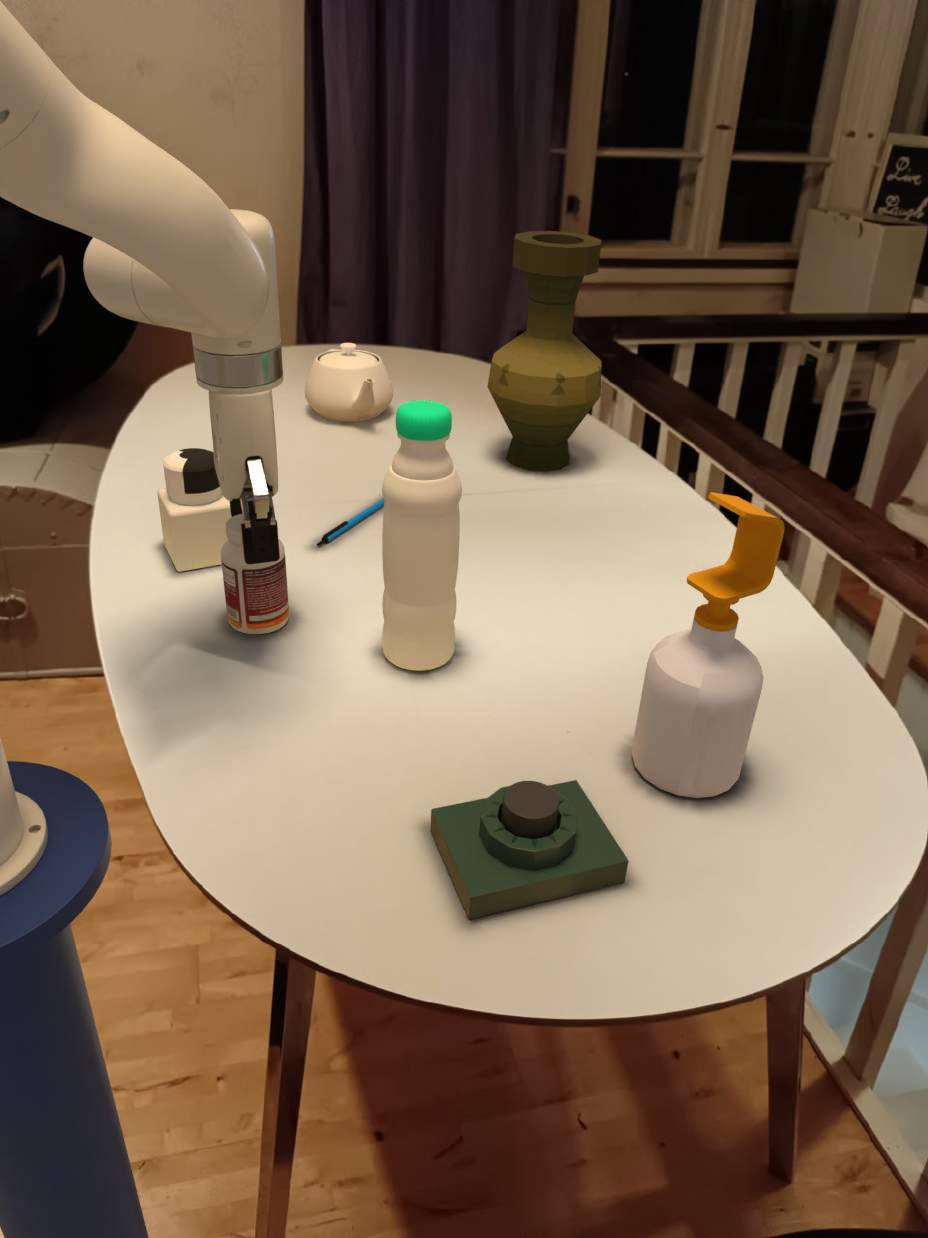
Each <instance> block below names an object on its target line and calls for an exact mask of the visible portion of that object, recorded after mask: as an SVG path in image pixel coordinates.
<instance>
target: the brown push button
mask: <svg viewBox="0 0 928 1238" xmlns="http://www.w3.org/2000/svg"><path fill="white" fill-rule="evenodd" d="M508 786H509V787H508V788H507V790H506V791H505V793H504V796H503V806H502V823H503V825H504V827H505V828H506V829H507V830H508V831H509V832H510V833H512V834H513V835H515V836H517V837H523V838H529V839H538V838H542V837H546V836H548V835H549V834H551V833H552V832H553V830H554V829H555V827H556V824H557V816H558V809H559V798H558V796H557V794H556V792H555V791H554V790H553V789H552V788H550V787H549V785H548V784H545V783H543V782H540V781H536V780H521V781H517V782H515V783H514V782H513V784H511V785H508Z"/></svg>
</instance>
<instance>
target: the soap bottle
mask: <svg viewBox="0 0 928 1238" xmlns="http://www.w3.org/2000/svg"><path fill="white" fill-rule="evenodd" d="M707 498H708V499H709V500H711V501H713V502H714V503H716V504H717V505H720V506H721V507H723V508H725V509H727V510H729V511H730V512H732V513H735V514H736V515H738V520H737V526H736V530H735V535H734V538H733V544H732V549H731V552H730V555H729V557H728V559H727V560H726V561H725V562H724V563H723V564H720V565H718V566H714V567H710V568H707V569H703V570H699V571H696V572H692V573H689V574H688V575H687V577H686V584H687V585H689V586H690V587H691V588H693V589H695V590H696V591H698V592H699V593H701V595H702V596H703V598H704V599H705V600H707V603H703V604H701V605H699V606H697V607H696V609H695V610H694V614H693V620H692V624H691V628H690V629H689V628H688V629H684V630H682V631H677V632H675V633H671V634H670V635H667V636H665V637H663V638H662V639H661V640H660V641H659V642H657V643H655V645H654V647H653V648H652V650H651V651H650V653H649V656H648V659H647V662H646V666H645V667H646V668H645V672H644V677H643V684H642V689H641V695H640V701H639V707H638V712H637V717H636V718H637V719H636V724H635V730H634V734H633V740H632V745H631V752H630V753H631V756H632V760H633V765H634V767H635V768H636V769H637V771H638V772H639V774H640V775H641V776H642V777H643V779H644V780H646V781H648V782H649V783H651V784H652V785H653V786H655V787H656V788H658V789H660V790H662V791H664V792H667V793H671V794H673V795H676V796H681V797H687V798H693V799H701V798H710V797H711V798H712V797H716V796H719V795H721V794H723V793H725V792H728V791H729V790H730V789H731V788H732V787H733V786H734V785H735V784H736V782H737V781H738V780H739V779H740V775H741V771H742V768H743V763H744V759H745V757H746V756H745V755H746V751H747V748H748V745H749V740H750V737H751V732H752V729H753V725H754V721H755V717H756V714H757V710H758V705H759V701H760V697H761V694H762V690H763V684H764V673H763V669H762V665H761V663H760V660H759V659H758V657H757V656H756V655H755V654H754V653H753V652H752V651H751V650H750V649H749V648H748V647H747V646H746V645H745V644H744V643H743V642H741V641H740V640H739V639H737V638H735V637H736V633H737V628H738V624H739V618H740V617H739V614H738V613H737V612H736V611H735V610H734V609H733V608H731V606H733V605H736V604H737V603H739V602H740V600H741V599H745V598H748V597H750V596H751V597H752V596H753V595H757V594H760V593H762V592H763V591H765V590H766V589H767V588H768V587H769V586H770V585H771V582H772V580H773V578H774V574H775V571H776V566H777V563H778V559H779V558H778V557H779V554H780V550H781V546H782V542H783V538H784V534H785V523H784V521H783V520H782V519H780V518H779V517H777V516H775V515H773V514H771V513H770V512H768V511H766V510H764V509H762V508H760V507H758V506H756V505H754V504H753V503H751V502H749V501H748V500H745V499H743V498H741V497H739V496H736V495H731V494H726V493H725V494H724V493H719V492H714V491H713V492H712V491H711V492H709V494H708V496H707Z"/></svg>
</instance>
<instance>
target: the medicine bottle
mask: <svg viewBox="0 0 928 1238" xmlns="http://www.w3.org/2000/svg"><path fill="white" fill-rule="evenodd" d="M162 466H163V473H164V482H165V488H159V489H158V490H157V492H156V494H157V501H158V507H159V515H160V523H161V530H162V539H163V540H162V541H163V545H164V547H165V550H166V551H167V554H168V555H169V557H170V559H171V562H172V563H173V565H174V567H175V569H176V571H177V572H178V573H179V572H185V571H190V570H198V569H203V568H209V567H215V566H222V563H221V548H222V546H223V544H224V543H225V542H226V541H227V540H228V539H227V536H226V522H227V520H228V519H230V518H231V517H232V516H231V511H230V501H228V500H227V499H226V498H225V497H224V496H223V494H222V491H221V487H220V484H219V481H218V477H217V474H216V470H215V465H214V453H213V450H209V449H205V448H198V447H188V448H181V449H179V450H176V451H174V452H171V453H169V454H168V455H167V456H166V457H165V458H164V459H163V462H162Z"/></svg>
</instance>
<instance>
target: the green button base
mask: <svg viewBox="0 0 928 1238" xmlns="http://www.w3.org/2000/svg"><path fill="white" fill-rule="evenodd" d="M509 786H510V785H507V786H502V787H500V788H498V789H497V790H496V791H494V792H493V793H491V794H490V795H489V796H488V797H485V798H484V797H483V798H479V799H475V800H469V801H464V802H458V803H453V804H450V805H449V804H448V805H444V806H439V807H434V808H431V810H430V812H431V813H430V832H431V834H432V837H433V839H434V842H435V843H436V846H437V848H438V851H439V853H440V856H441V858H442V861H443V863H444V865H445V867H446V869H447V873H448V874H449V876H450V879H451V881H452V884H453V886H454V888H455V891H456V893H457V895H458V898H459V900H460V903H461V904H462V907H463V910H464V911H465V914H466V916H467V919H468V920H473V919H476V918H481V917H485V916H488V915H493V914H497V913H501V912H506V911H510V910H514V909H518V908H522V907H523V908H524V907H526V906H527V907H528V906H531V905H536V904H539V903H543V902H547V901H548V902H549V901H551V900H556V899H560V898H564V897H569V896H572V895H576V894H580V893H585V892H589V891H593V890H598V889H602V888H606V887H611V886H615V885H619V884H622V883H625V881H626V877H627V871H628V865H629V859H628V858H627V856H626V854H625V853H624V851H623V850H622V847H620V845H619V843H618V842H617V840H616V839H615V837H614V836H613V834H612V832H611V831H610V830H609V828H608V827H607V825H606V824H605V822H604V820H603V819H602V817H601V815H600V814H599V813H598V811H597V809H596V808H595V806H594V805H593V803H592V802H591V800H590V799H589V797H588V795H587V794H586V792H585V791H584V790H583V788H582V787H581V784H580V783H579V782H578V780H577V779H574V780H569V781H565V782H559V783H555V784H549V785H548V786H549V787H550V788H552V789H553V790H554V791H555V792H556V794H557V796H558V798H559V809H558V816H557V824H556V827H555V829H554V830H553V832H552V833H551V834H549V835H548V836H546V837H542V838H538V839H529V838H523V837H517V836H515V835H513V834H512V833H510V832H509V831H508V830H507V829H506V828H505V827H504V825H503V823H502V806H503V796H504V793H505V791H506V790H507V788H508V787H509Z"/></svg>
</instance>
